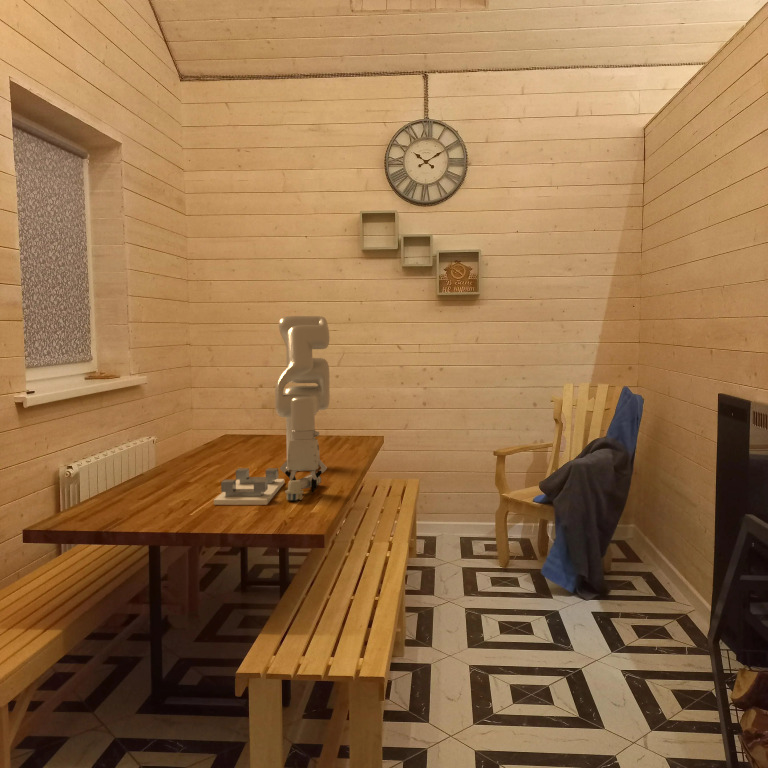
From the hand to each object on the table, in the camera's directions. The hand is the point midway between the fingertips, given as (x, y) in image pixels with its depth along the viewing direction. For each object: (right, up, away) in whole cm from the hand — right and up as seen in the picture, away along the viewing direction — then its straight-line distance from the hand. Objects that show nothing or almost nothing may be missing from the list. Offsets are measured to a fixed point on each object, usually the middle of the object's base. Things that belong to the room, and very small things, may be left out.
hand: (303, 490), depth 219 cm
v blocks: (-17, +1, +1) cm, 17 cm away
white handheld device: (0, -1, 0) cm, 1 cm away
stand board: (-17, -1, +1) cm, 17 cm away
